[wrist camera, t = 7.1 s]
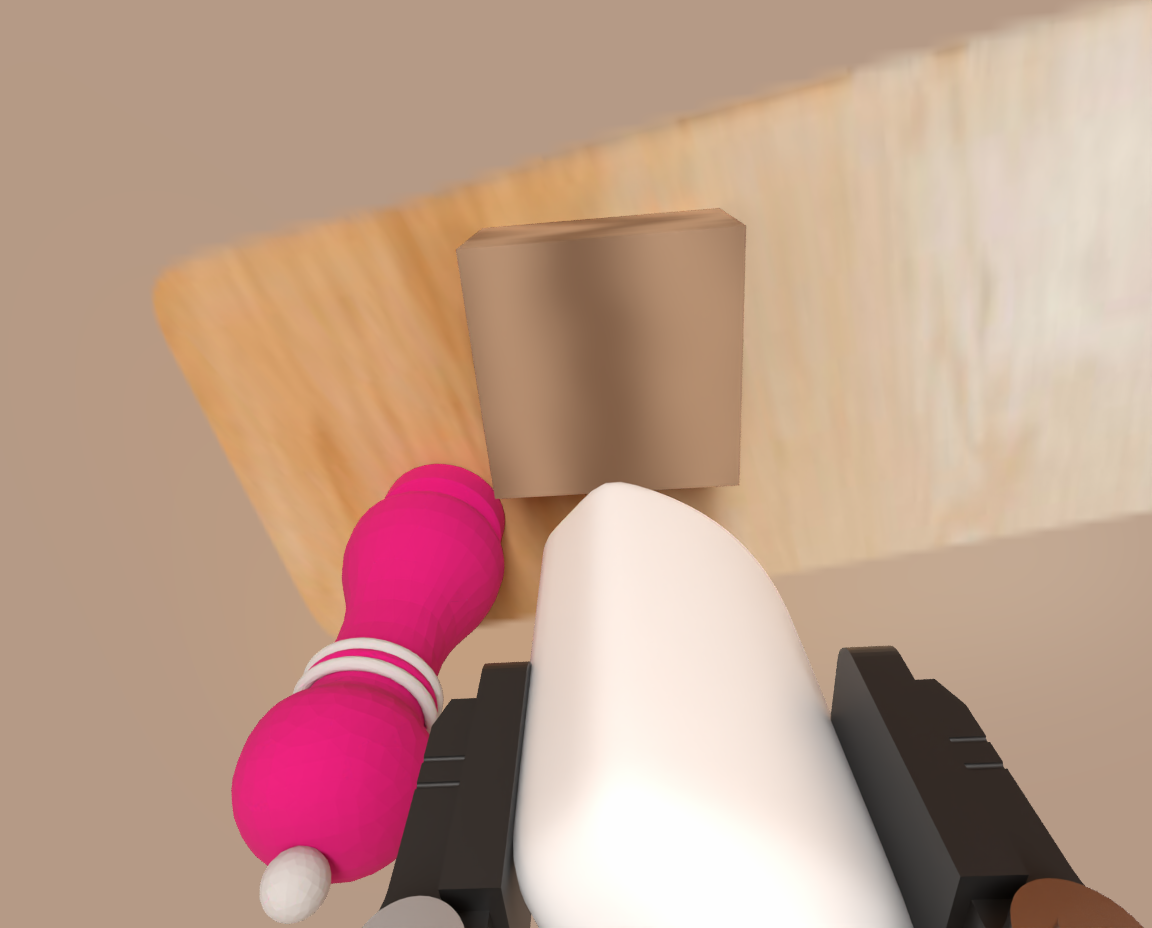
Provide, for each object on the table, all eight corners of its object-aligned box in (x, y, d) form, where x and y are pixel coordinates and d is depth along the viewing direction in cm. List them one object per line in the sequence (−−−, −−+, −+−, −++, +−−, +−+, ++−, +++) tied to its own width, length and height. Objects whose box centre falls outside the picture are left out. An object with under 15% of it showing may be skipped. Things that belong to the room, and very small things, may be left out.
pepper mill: (520, 571, 36) (440, 997, 19) (389, 574, 37) (187, 993, 19) (508, 451, 33) (398, 825, 15) (364, 455, 34) (93, 824, 16)
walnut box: (718, 207, 28) (746, 225, 23) (716, 426, 33) (739, 485, 27) (483, 227, 29) (455, 249, 23) (512, 439, 33) (495, 498, 28)
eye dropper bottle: (617, 691, 16) (667, 1797, 5) (526, 500, 14) (298, 1715, 3) (796, 642, 15) (1276, 1812, 5) (729, 431, 13) (1349, 1722, 2)
